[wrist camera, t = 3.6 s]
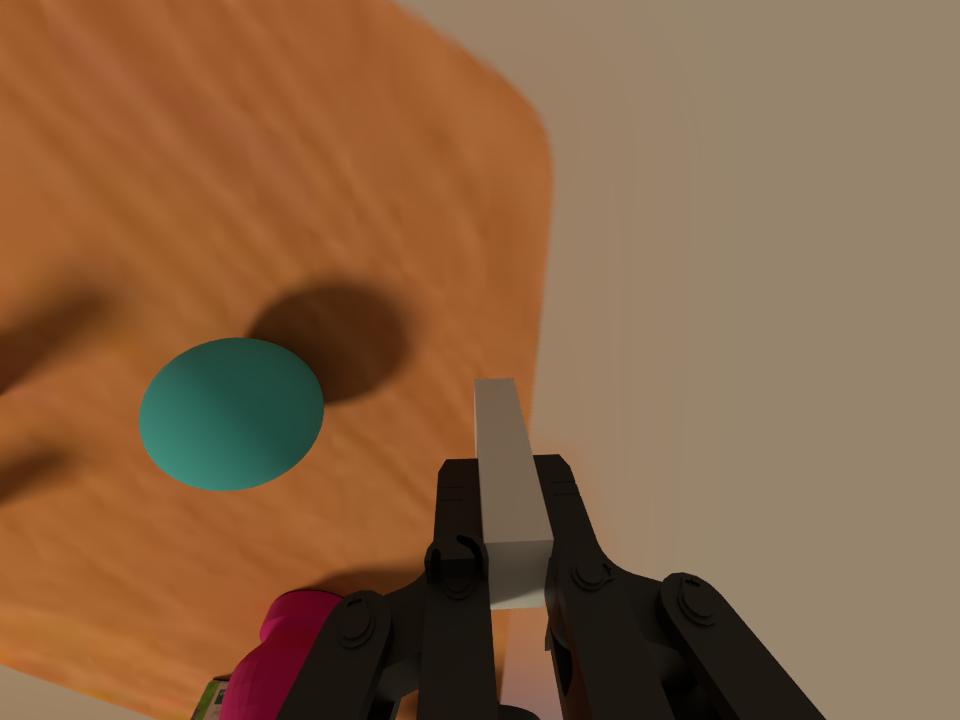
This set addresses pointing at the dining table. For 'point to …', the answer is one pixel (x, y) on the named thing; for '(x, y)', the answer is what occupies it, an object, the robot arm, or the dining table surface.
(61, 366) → the dining table surface
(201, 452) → the ball
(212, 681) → the syrup box
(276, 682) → the pepper mill
